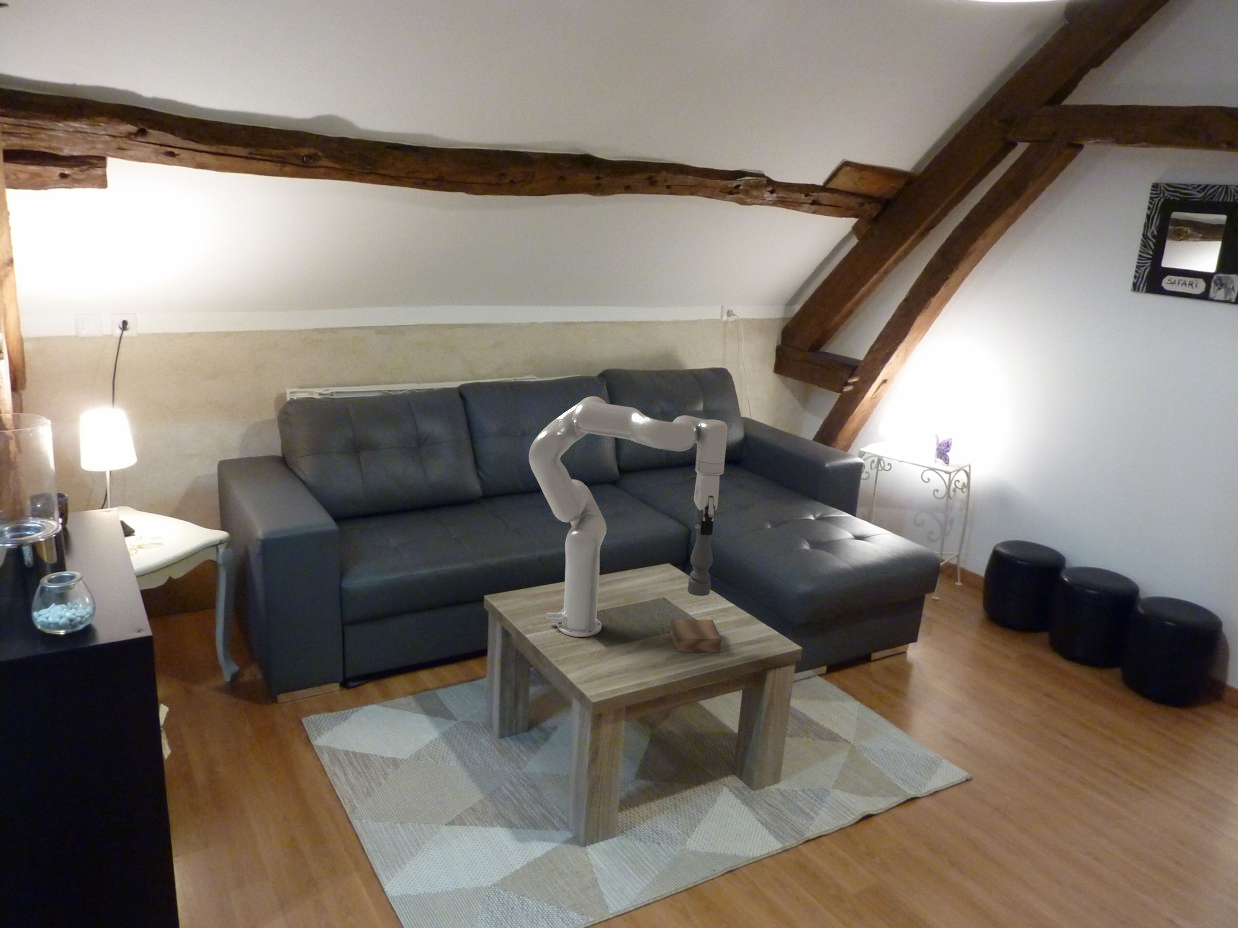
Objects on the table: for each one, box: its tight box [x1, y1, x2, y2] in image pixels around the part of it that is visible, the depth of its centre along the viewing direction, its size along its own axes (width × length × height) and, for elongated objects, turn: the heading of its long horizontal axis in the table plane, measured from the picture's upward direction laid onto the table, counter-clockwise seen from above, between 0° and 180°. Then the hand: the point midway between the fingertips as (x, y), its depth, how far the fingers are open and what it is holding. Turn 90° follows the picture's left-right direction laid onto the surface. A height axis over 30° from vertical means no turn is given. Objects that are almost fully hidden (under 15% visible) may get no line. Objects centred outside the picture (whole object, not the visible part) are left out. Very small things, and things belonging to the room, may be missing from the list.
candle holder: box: [687, 505, 717, 597], centre depth 260 cm, size 6×6×25 cm
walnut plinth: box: [670, 618, 722, 653], centre depth 267 cm, size 12×12×4 cm
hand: (704, 529), depth 258 cm, fingers closed on candle holder, 5 cm apart
